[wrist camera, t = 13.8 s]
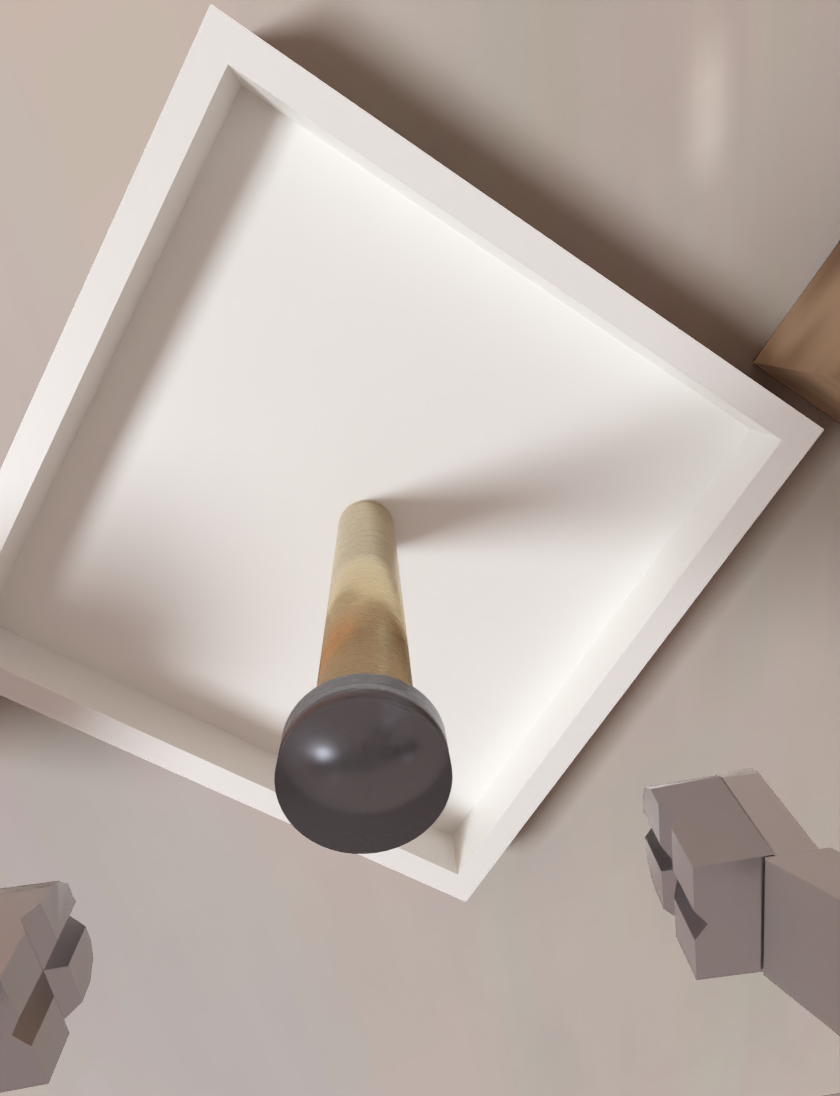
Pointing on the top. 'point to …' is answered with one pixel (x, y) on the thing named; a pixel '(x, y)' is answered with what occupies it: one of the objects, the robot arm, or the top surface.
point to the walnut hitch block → (810, 342)
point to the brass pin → (364, 710)
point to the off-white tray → (358, 457)
